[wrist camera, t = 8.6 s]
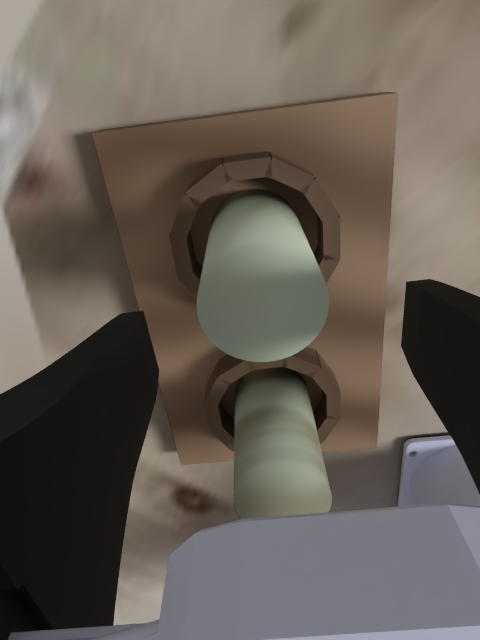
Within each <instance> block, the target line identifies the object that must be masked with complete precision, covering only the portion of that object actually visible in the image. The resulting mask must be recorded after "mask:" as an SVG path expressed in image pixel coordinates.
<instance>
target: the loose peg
mask: <svg viewBox="0 0 480 640" xmlns="http://www.w3.org/2000/svg"><path fill="white" fill-rule="evenodd" d="M328 311H329V293H328V288H327V285H326V282H325V280H324V277H323V275H322V273H321V270H320V268H319V266H318V264H317V261H316V259H315V257H314V254H313V252H312V250H311V248H310V245H309V243H308V241H307V238H306V236H305V234H304V232H303V229H302V227H301V225H300V222H299V220H298V218H297V216H296V213H295V212H294V210H293V208H292V207H291V205H290V204H289V203H288V202H287V201H286V200H285V199H284V198H282V197H281V196H279V195H278V194H276V193H274V192H271V191H268V190H264V189H248V190H243V191H240V192H237V193H235V194H233V195H232V196H230V197H228V198H227V199H226V200H225V201H224V202H223V203H222V204H221V205H220V206H219V207H218V209H217V210H216V212H215V214H214V216H213V219H212V222H211V227H210V232H209V237H208V242H207V248H206V253H205V258H204V263H203V269H202V274H201V279H200V285H199V290H198V295H197V315H198V319H199V322H200V325H201V327H202V329H203V331H204V333H205V334H206V336H207V337H208V338H209V340H210V341H211V342H212V343H213V344H214V345H215V346H216V347H218V348H219V349H220V350H222V351H223V352H225V353H227V354H228V355H231V356H233V357H235V358H238V359H242V360H246V361H251V362H270V361H276V360H281V359H284V358H287V357H290V356H292V355H294V354H296V353H298V352H299V351H301V350H302V349H304V348H305V347H306V346H308V345H309V344H310V343H311V342H312V341H313V340H314V339H315V338H316V337H317V335H318V334H319V333H320V331H321V329H322V328H323V326H324V324H325V321H326V319H327V315H328Z"/></svg>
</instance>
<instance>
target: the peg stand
mask: <svg viewBox="0 0 480 640" xmlns="http://www.w3.org/2000/svg"><path fill="white" fill-rule="evenodd" d="M397 99H398V93H395V92H385V93H377V94H370V95H362V96H354V97H347V98H339V99H332V100H324V101H317V102H309V103H302V104H294V105H286V106H279V107H271V108H264V109H256V110H249V111H241V112H234V113H226V114H218V115H211V116H203V117H196V118H188V119H181V120H173V121H166V122H158V123H150V124H143V125H135V126H128V127H120V128H113V129H105V130H99V131H97V132H94V133H92V136H93V139H94V143H95V147H96V151H97V154H98V158H99V162H100V165H101V169H102V173H103V177H104V180H105V184H106V188H107V191H108V195H109V199H110V203H111V206H112V210H113V214H114V218H115V221H116V225H117V229H118V232H119V236H120V240H121V244H122V247H123V251H124V255H125V258H126V262H127V266H128V270H129V273H130V277H131V281H132V284H133V288H134V292H135V296H136V299H137V303H138V307H139V311H144V315H145V319H146V322H147V326H148V330H149V334H150V337H151V341H152V345H153V349H154V352H155V356H156V360H157V364H158V367H159V378H158V381H159V385H160V389H161V392H162V396H163V400H164V404H165V407H166V411H167V415H168V418H169V422H170V426H171V430H172V433H173V437H174V441H175V444H176V448H177V452H178V456H179V459H180V463H181V465H187V464H198V463H210V462H221V461H233V460H234V508H235V512H236V514H237V515H238V517H239V518H240V519H250V518H263V517H275V516H287V515H300V514H312V513H324V512H329V510H330V508H331V505H332V495H331V490H330V486H329V482H328V477H327V473H326V468H325V464H324V460H323V455H322V453H324V452H336V451H347V450H359V449H370V448H377V437H378V420H379V403H380V386H381V369H382V352H383V335H384V318H385V302H386V285H387V268H388V251H389V234H390V217H391V200H392V183H393V166H394V150H395V133H396V116H397ZM248 189H264V190H268V191H271V192H274V193H276V194H278V195H279V196H281V197H282V198H284V199H285V200H286V201H287V202H288V203H289V204H290V205H291V207H292V208H293V210H294V212H295V213H296V216H297V218H298V220H299V222H300V225H301V227H302V229H303V232H304V234H305V236H306V238H307V241H308V243H309V245H310V248H311V250H312V252H313V254H314V257H315V259H316V261H317V264H318V266H319V268H320V270H321V273H322V275H323V277H324V280H325V282H326V285H327V288H328V293H329V311H328V315H327V319H326V321H325V324H324V326H323V328H322V329H321V331H320V333H319V334H318V335H317V337H316V338H315V339H314V340H313V341H312V342H311V343H310V344H309V345H308V346H306V347H305V348H304V349H302V350H301V351H299V352H298V353H296V354H294V355H292V356H290V357H287V358H284V359H281V360H276V361H270V362H251V361H246V360H242V359H238V358H235V357H233V356H231V355H228V354H227V353H225V352H223V351H222V350H220V349H219V348H218V347H216V346H215V345H214V344H213V343H212V342H211V341H210V340H209V338H208V337H207V336H206V334H205V333H204V331H203V329H202V327H201V325H200V322H199V319H198V315H197V295H198V290H199V285H200V279H201V274H202V269H203V263H204V258H205V253H206V248H207V242H208V237H209V232H210V227H211V222H212V219H213V216H214V214H215V212H216V210H217V209H218V207H219V206H220V205H221V204H222V203H223V202H224V201H225V200H226V199H227V198H228V197H230V196H232V195H233V194H235V193H237V192H240V191H243V190H248Z"/></svg>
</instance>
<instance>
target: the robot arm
mask: <svg viewBox="0 0 480 640" xmlns="http://www.w3.org/2000/svg"><path fill="white" fill-rule="evenodd" d="M401 346H402V349H403V352H404V354H405V357H406V359H407V362H408V364H409V366H410V369H411V371H412V373H413V375H414V377H415V379H416V380H417V382H418V384H419V385H420V387H421V389H422V390H423V392H424V394H425V395H426V397H427V399H428V400H429V402H430V403H431V405H432V407H433V408H434V410H435V411H436V413H437V415H438V416H439V418H440V420H441V421H442V423H443V424H444V426H445V428H446V429H447V431H448V432H449V434H450V435H447V436H436V437H424V438H413V439H409V440H407V441H406V442H405V443H404V448H403V458H402V467H401V477H400V487H399V496H398V506H397V507H386V508H373V509H361V510H349V511H336V512H324V513H312V514H300V515H287V516H275V517H263V518H250V519H239V520H236V521H232V522H228V523H224V524H220V525H216V526H213V527H209V528H205V529H201V530H200V531H198V532H196V533H195V534H194V535H192V536H191V537H190V538H189V539H188V540H187V541H185V542H184V543H183V544H182V545H181V546H180V547H178V548H177V549H176V550H175V551H174V552H173V553H171V554H170V555H169V558H168V565H167V572H166V579H165V586H164V593H163V599H162V606H161V613H160V620H156V621H153V622H149V623H144V624H129V625H116V626H113V622H114V611H115V601H116V593H117V585H118V577H119V569H120V561H121V553H122V546H123V539H124V533H125V526H126V519H127V513H128V507H129V501H130V495H131V489H132V484H133V479H134V475H135V471H136V467H137V463H138V460H139V457H140V453H141V450H142V446H143V443H144V439H145V436H146V432H147V429H148V426H149V422H150V419H151V415H152V411H153V408H154V404H155V400H156V394H157V387H158V378H159V367H158V364H157V360H156V356H155V352H154V349H153V345H152V341H151V337H150V334H149V330H148V326H147V322H146V319H145V315H144V311H139V312H130V313H122V314H120V315H118V316H117V317H115V318H114V319H112V320H111V321H109V322H108V323H107V324H105V325H104V326H103V327H101V328H100V329H99V330H97V331H96V332H95V333H93V334H92V335H91V336H90V337H88V338H87V339H86V340H84V341H83V342H82V343H80V344H79V345H78V346H76V347H75V348H74V349H72V350H71V351H69V352H68V353H67V354H65V355H64V356H62V357H61V358H59V359H58V360H56V361H55V362H54V363H52V364H51V365H49V366H48V367H46V368H45V369H43V370H42V371H40V372H39V373H37V374H36V375H34V376H32V377H31V378H29V379H27V380H26V381H24V382H22V383H20V384H19V385H17V386H15V387H13V388H11V389H10V390H8V391H6V392H4V393H2V394H0V640H480V297H478V296H476V295H473V294H471V293H468V292H466V291H463V290H460V289H458V288H455V287H453V286H450V285H447V284H444V283H442V282H438V281H435V280H431V279H427V280H418V281H409V282H406V292H405V305H404V317H403V330H402V342H401ZM412 451H413V452H412Z"/></svg>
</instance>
